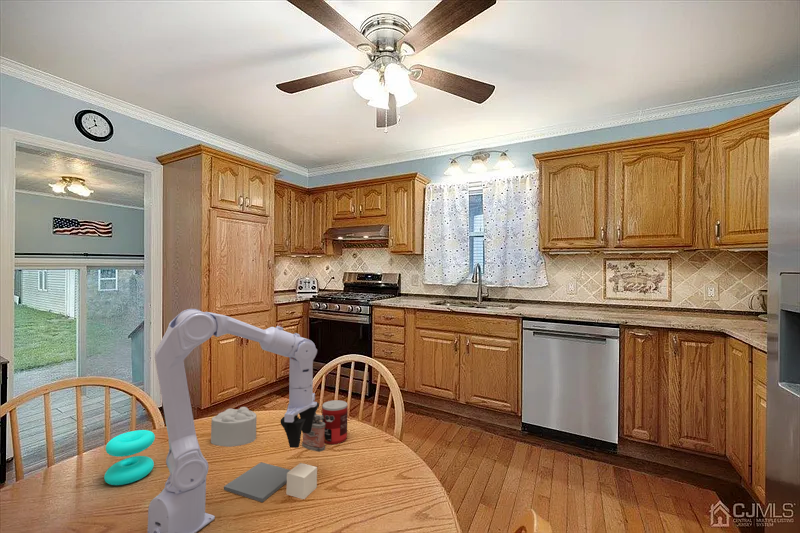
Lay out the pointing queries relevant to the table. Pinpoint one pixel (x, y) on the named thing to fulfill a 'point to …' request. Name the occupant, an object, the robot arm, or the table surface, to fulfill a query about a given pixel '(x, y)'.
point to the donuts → (131, 466)
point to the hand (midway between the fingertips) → (300, 439)
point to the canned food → (335, 421)
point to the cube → (301, 480)
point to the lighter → (315, 435)
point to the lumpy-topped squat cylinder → (233, 427)
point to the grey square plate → (259, 482)
